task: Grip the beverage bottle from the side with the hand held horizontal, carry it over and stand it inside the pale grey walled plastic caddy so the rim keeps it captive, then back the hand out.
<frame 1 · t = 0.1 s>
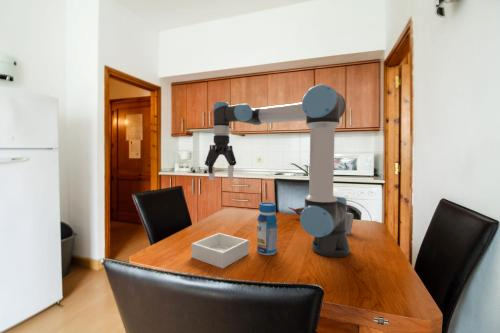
hand: (221, 179, 120), 28 cm above the table, tool pointing down, fingers open, 13 cm apart
decorative bird figurine: (301, 219, 155), on the table
beverage bottle: (267, 252, 103), on the table
caddy: (220, 255, 98), on the table
digital clock: (336, 231, 131), on the table
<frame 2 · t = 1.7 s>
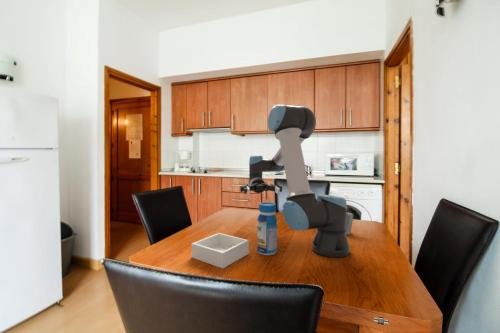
hand: (263, 191, 111), 24 cm above the table, tool horizontal, fingers open, 13 cm apart
nothing on the table moved.
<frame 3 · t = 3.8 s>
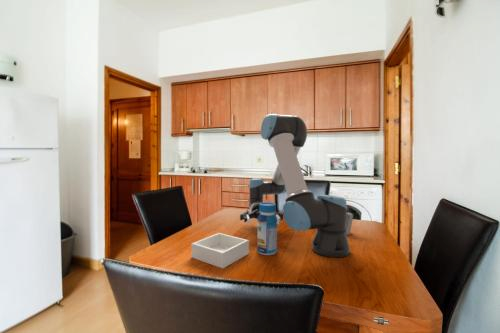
hand: (264, 221, 108), 11 cm above the table, tool horizontal, fingers open, 13 cm apart
nothing on the table moved.
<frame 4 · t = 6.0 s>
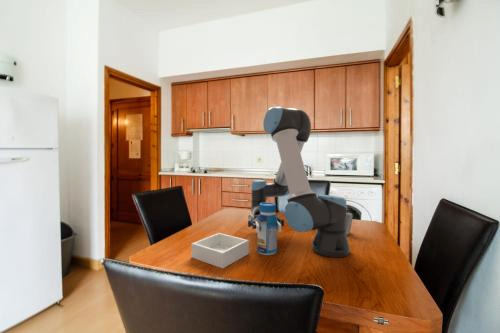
hand: (269, 228, 97), 11 cm above the table, tool horizontal, fingers closed on beverage bottle, 8 cm apart
beverage bottle: (266, 252, 103), on the table, touching gripper
everything else where it was.
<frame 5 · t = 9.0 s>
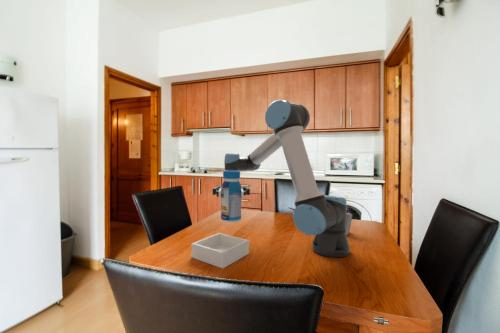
hand: (231, 195, 95), 25 cm above the table, tool horizontal, fingers closed on beverage bottle, 8 cm apart
beverage bottle: (231, 220, 100), point 13 cm above the table, touching gripper
everything else where it was.
when the fingers open (13 cm above the table, at t = 11.8 s): beverage bottle drops 1 cm, resting on caddy.
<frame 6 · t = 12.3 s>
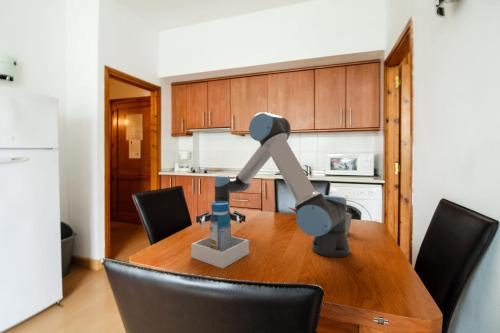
hand: (220, 224, 94), 13 cm above the table, tool horizontal, fingers open, 13 cm apart
beverage bottle: (220, 253, 99), point 1 cm above the table, touching caddy
everything else where it was.
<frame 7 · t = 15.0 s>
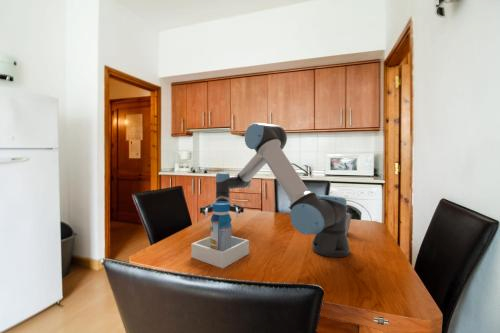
hand: (221, 214, 108), 14 cm above the table, tool horizontal, fingers open, 13 cm apart
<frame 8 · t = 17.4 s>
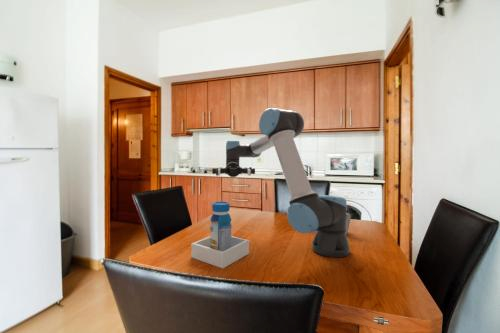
hand: (234, 172, 110), 32 cm above the table, tool horizontal, fingers open, 13 cm apart
at the end: beverage bottle inside the target area on the caddy (0.2 cm from its centre), point 0.8 cm above the caddy's base; beverage bottle tilted 0°; the gripper is holding nothing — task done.
